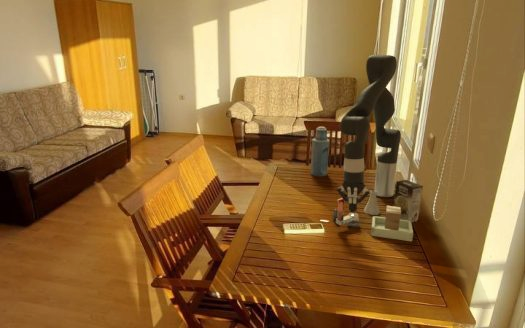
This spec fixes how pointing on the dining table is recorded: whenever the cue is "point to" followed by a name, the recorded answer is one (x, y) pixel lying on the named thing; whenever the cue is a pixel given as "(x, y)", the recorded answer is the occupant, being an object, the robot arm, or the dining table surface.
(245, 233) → the dining table surface
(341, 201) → the crank
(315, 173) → the bottle
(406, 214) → the coffee box
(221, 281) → the dining table surface
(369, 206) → the flask
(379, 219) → the tray
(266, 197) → the dining table surface
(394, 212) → the block
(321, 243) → the dining table surface
